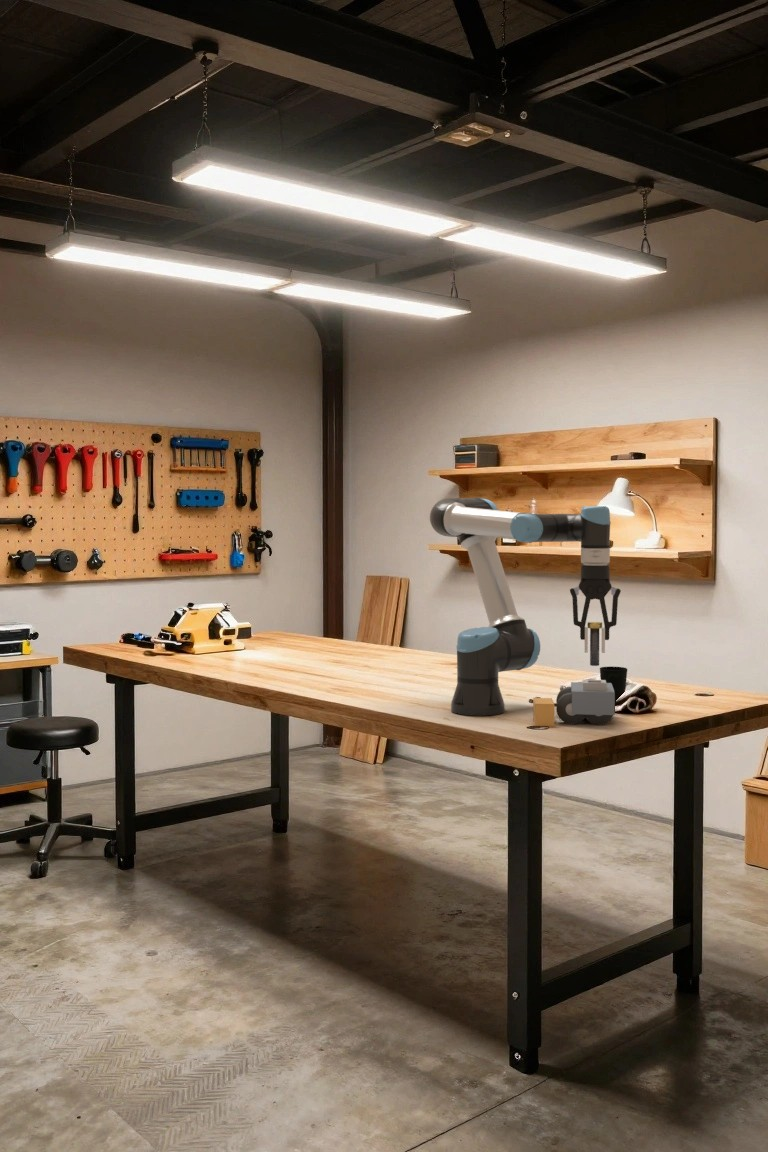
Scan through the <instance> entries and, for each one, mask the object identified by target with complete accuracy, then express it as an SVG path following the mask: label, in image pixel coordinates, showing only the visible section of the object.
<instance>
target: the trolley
mask: <svg viewBox="0 0 768 1152" xmlns="http://www.w3.org/2000/svg"><path fill="white" fill-rule="evenodd" d="M555 707H556V714H557V716H558V718H559V719H560V721H561V722H563V723H565V724H568V725H576V724H579V723H581V722H582V721H583V720H585V719H586V720H587V721H588V722H589V723H591V724H592V725H595V726H602V725H606V724H607V723H609V722H610V721H611V720H612V719H613V717H614V716H615V713H616V712H615V692H614V689H613V686H612V683H606V680H601V679H582V682H579V681H576V682H574V681H573V682H570V686H566V687H564V688H562V689H561V690H560V691H559V692H558V693H557V695H556V706H555Z"/></svg>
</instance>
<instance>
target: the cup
mask: <svg viewBox="0 0 768 1152" xmlns="http://www.w3.org/2000/svg"><path fill="white" fill-rule="evenodd" d="M599 675H600V680H606V683H612V686H613V689H614V692H615V702H616V700H617V699H618V698H619V697H620V696H621V695H622V694H623V693H624V692H625V693H626V688H627V687H626V686H627V679H628V677H627V676H628V668H627V667H623V666H602V667H601V666H600V667H599ZM615 704H616V703H615Z"/></svg>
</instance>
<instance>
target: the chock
mask: <svg viewBox="0 0 768 1152" xmlns="http://www.w3.org/2000/svg"><path fill="white" fill-rule="evenodd" d="M532 706H533V709H532V721H533V723H534V726H535V727H555V702H554V700H553V698H552V697H533V698H532Z"/></svg>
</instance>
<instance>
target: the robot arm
mask: <svg viewBox="0 0 768 1152" xmlns="http://www.w3.org/2000/svg"><path fill="white" fill-rule="evenodd" d="M430 510H431V511H430V513H429V522H430V525H431V527H432V528H433V531H435V532H436V534H439V535H441V536H444V537H450V538H453V537H454V538H458V540H459V543H460V547H461V548H463V549H465V550H466V551H467V553H468V556H469V560H470V563H471V567H472V569H473V570H472V571H473V573H474V577H475V580H476V582H477V586H478V590H479V593H480V596H481V600H482V604H483V606H484V609H485V613H486V617H487V620H488V623H489V625H488V626H481V627H473V628H468V629H464V630H462V631H461V632H459V633H458V636H457V644H456V664H457V665H456V671H457V672H456V673H457V678H456V687H455V690H454V693H453V696H452V700H451V703H450V710H451V712H452V713H454V714H457V713H458V714H457V715H465V716H480V717H481V716H482V717H483V716H494V715H499V714H503V713H505V709H506V708H505V701H504V698H503V695H502V692H501V688H500V686H499V673H502V672H510V671H521V670H523V669H529V668H530V667H532V666H534V665H535V664H536V662H537V660H538V658H539V656H540V653H541V641H540V637H539V635H538V634H537V632H536V631H534V630H533V629H532V628H528V627H527V624H526V621H525V618H523V617H522V616H519V615H518V612H517V609H516V605H515V602H514V600H513V596H512V594H511V590H510V586H509V584H508V579H507V577H506V573H505V570H504V566H503V563H502V561H501V558H500V557H501V556H500V554H499V551H498V548H497V545H496V541H497V538H499V539H508V540H516V541H517V542H519V543H527V544H530V543H543V542H544V543H552V542H553V543H560V542H561V543H564V542H571V543H572V542H575V543H576V542H577V543H579V542H580V563H581V564H582V565H581V566H580V582H579V583H578V586H576V587H571V588H570V589H569V592H570V595H571V597H572V617H573V625H574V626H577V627H579V628H580V630H579V635H580V636H579V639H580V640H584V653H586V654H588V651H589V650H588V648H589V646H588V645H589V640H588V639H589V628H588V626H586V624H587V618H588V613H589V610H590V603H591V601H592V600H599V603H600V610H601V614H602V618H603V619H602V620H603V625H604V627H603V626H602V628H601V653H602V654H605V653H606V641H609V640H610V629H611V628H612V627H615V626H616V625H617V624H618V623H617V621H618V605H619V604H618V603H619V597H620V594H621V589H620V588H619V587H618V588H616V587H615V586H612V583H611V579H610V577H611V576H610V574H611V573H610V571H611V569H610V565H608V564H610V562H611V553H610V552H611V551H610V549H611V548H610V537H611V523H612V521H611V513H610V508H609V507H608V506H605V505H604V506H603V505H601V506H600V505H598V506H597V505H595V506H590V505H589V506H587V505H586V506H582V507H581V511H580V513H532V512H531V513H530V512H519V511H509V510H501V509H500V510H499V508H498V506H496V505H495V503H494V502H492V501H491V500H490V499H488V498H487V499H486V498H481V497H471V498H470V497H447V498H442V499H440V500H438V501H437V502H436V503H435V504H434V505H433V507H432V508H431V509H430ZM579 591H581V593H582V594H583V596H584V598H585V599H584V600H585V601H584V605H583V610H582V615H581V620H580V621H579V609H578V595H579V594H580V593H579ZM610 591H611V592H610ZM609 592H610V593H611V595H612V605H611V606H612V607H611V620H610V621H609V617H608V611H607V605H606V599H605V597H606V596H607V594H608V593H609Z"/></svg>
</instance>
